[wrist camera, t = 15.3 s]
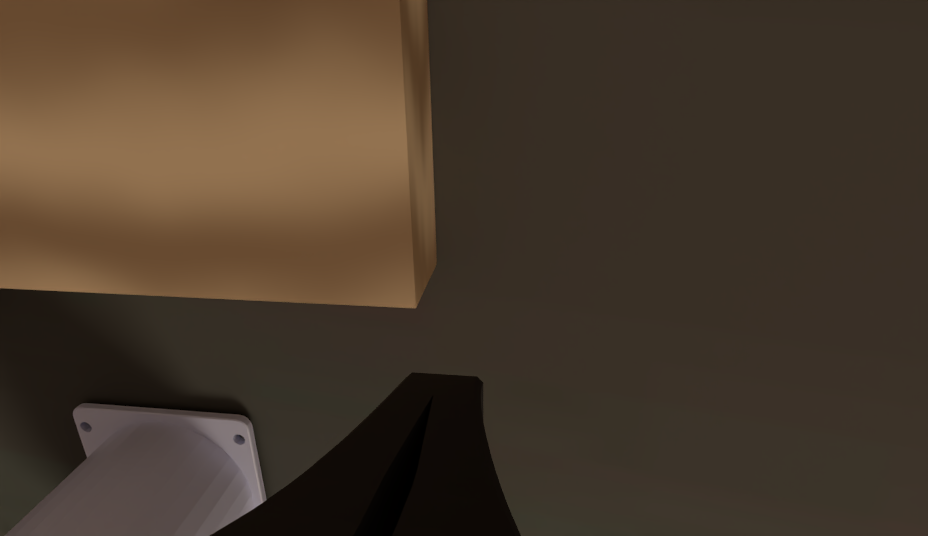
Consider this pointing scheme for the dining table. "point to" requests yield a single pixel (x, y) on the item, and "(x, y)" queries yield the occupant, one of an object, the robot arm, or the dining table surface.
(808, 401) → the dining table surface
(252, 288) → the oak board
